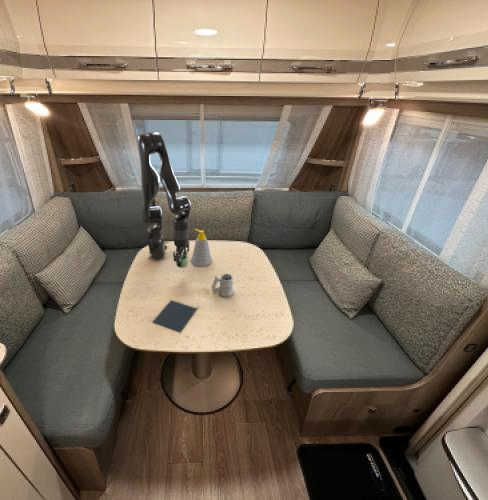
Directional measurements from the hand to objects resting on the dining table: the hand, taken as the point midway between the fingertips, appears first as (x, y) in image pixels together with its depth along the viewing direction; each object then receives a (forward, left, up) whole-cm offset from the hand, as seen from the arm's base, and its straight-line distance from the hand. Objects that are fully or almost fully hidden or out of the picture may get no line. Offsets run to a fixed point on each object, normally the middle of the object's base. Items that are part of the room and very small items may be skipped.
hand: (182, 263), depth 144 cm
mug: (+3, +25, -10) cm, 27 cm away
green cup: (0, 0, -1) cm, 1 cm away
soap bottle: (-21, +2, -10) cm, 23 cm away
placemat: (+27, +11, -10) cm, 31 cm away
